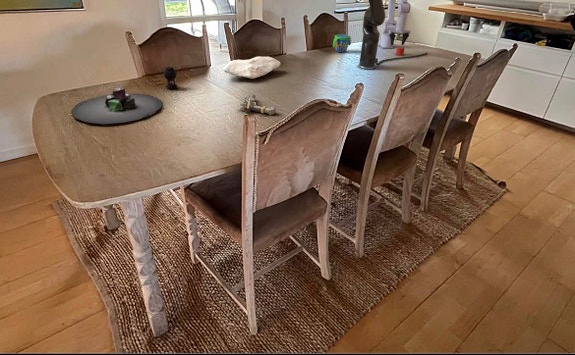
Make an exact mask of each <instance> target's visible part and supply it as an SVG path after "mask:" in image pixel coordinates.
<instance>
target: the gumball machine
mask: <svg viewBox="0 0 575 355" xmlns="http://www.w3.org/2000/svg"><path fill="white" fill-rule="evenodd" d="M176 69H177V67H176V66H174V67H173V66H166V67H165V68H164V67H162V68H161V70H162V71H163V76H162V78H165V79H166V80H167V81H166V84H165V86H164V87H165V88H167V89H168V90H174V89H176V88H177V89H179V85H178V84H176V83H177V82H178V78H177V71H176Z"/></svg>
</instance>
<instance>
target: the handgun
mask: <svg viewBox="0 0 575 355" xmlns="http://www.w3.org/2000/svg"><path fill="white" fill-rule="evenodd" d="M239 106H240V108H239V109H240V111H243V112H244V113H250V112H256V113H261V114H264V113H266V114H268V115H270V116H272V115H275V113H276V111H277V108H276V107H275V106H271V107H268V106H267V105H257V102H256V94H253V93H246V94H245V95H244V103H240V105H239Z"/></svg>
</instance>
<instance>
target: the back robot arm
mask: <svg viewBox="0 0 575 355" xmlns="http://www.w3.org/2000/svg"><path fill="white" fill-rule="evenodd" d="M396 3H397V6H398V7H397V19H395V17H396V16H395V14H396ZM387 5H388V6H387V16H386V19H385V20H384V22H383V24H382V25H381V33H382V34H381V35H380V39H379V44H378V47H380V48H382V49H394V47H393V46H394V42H395V39H396V35H402V36H401V38H402V39H401V43H400V44H401V46H405V43H406V41H407V40H408V38H409V37H410V35H411V32H412V31H411V30H408V29H407V30H406V26H407V25H406V24H407V20H408V14H410V11H411V7H412V6H411V3H410V2H409V1H408V0H388V4H387Z"/></svg>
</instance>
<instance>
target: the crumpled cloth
mask: <svg viewBox="0 0 575 355" xmlns="http://www.w3.org/2000/svg"><path fill="white" fill-rule="evenodd" d="M280 66H281V62H280V61H279V60H277V59H276V58H273V57H271V56H255V57H253V58H250V59H234V60H231V61H229V62H228V63H227V64H226V65H225V66H224V67H222V70H223V72H225V73H226V74H229V75H232V76H237V77H238V78H239V77H240V78H241V77H243V78H245V79H246V78H248V79H250V80H254V79H256V78H260V77H263V76H265V75H267V74H269V73H270V72H272V71H273V70H276V69H278V68H279V67H280Z"/></svg>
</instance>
